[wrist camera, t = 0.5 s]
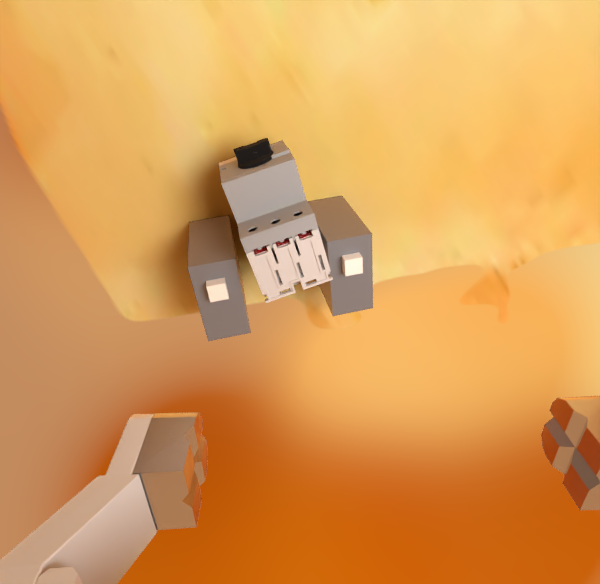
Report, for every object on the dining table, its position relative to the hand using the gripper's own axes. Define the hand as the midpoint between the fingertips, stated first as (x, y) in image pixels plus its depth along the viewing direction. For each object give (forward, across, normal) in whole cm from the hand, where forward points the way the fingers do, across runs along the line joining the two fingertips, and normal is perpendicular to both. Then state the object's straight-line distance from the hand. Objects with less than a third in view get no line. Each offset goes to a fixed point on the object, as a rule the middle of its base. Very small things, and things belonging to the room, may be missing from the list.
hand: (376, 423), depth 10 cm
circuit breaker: (+47, +5, +8) cm, 48 cm away
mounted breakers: (+48, +4, +16) cm, 50 cm away
